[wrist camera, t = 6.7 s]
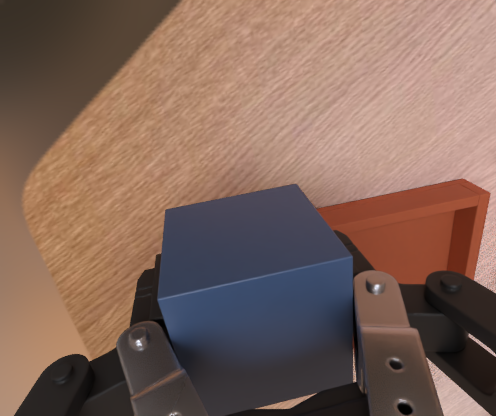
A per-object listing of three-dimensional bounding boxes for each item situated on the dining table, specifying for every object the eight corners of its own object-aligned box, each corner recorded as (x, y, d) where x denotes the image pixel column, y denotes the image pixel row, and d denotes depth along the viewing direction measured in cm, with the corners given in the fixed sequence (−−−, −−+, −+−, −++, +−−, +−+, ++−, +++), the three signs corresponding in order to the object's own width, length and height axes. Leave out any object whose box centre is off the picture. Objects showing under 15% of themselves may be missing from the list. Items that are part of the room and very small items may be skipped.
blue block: (193, 310, 15) (198, 423, 11) (165, 209, 13) (156, 299, 8) (304, 285, 16) (353, 384, 11) (296, 182, 13) (353, 255, 9)
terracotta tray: (293, 335, 30) (302, 361, 27) (279, 216, 24) (289, 235, 22) (444, 300, 31) (465, 321, 28) (463, 178, 25) (491, 192, 23)
